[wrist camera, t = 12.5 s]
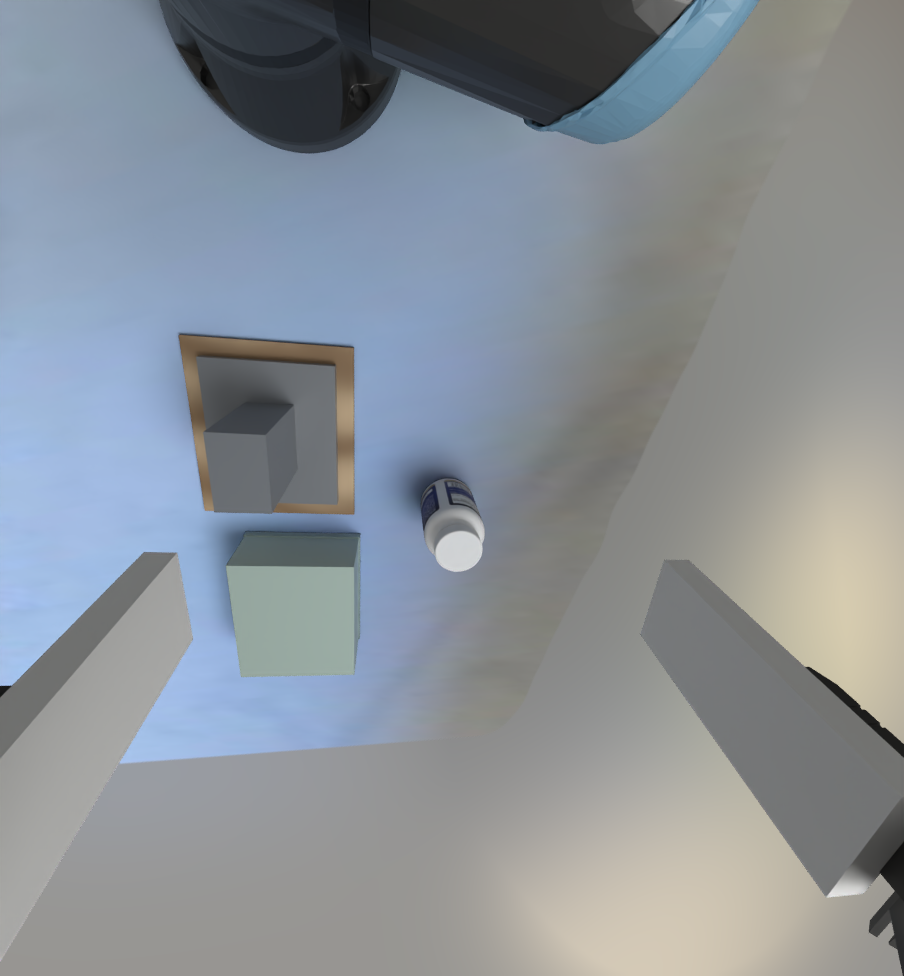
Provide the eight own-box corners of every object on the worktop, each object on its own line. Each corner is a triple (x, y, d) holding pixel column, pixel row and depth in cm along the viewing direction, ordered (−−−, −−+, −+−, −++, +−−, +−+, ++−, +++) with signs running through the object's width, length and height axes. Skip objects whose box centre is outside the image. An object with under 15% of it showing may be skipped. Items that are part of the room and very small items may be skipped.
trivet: (180, 334, 36) (178, 334, 36) (354, 347, 38) (353, 348, 38) (206, 508, 43) (204, 510, 42) (354, 512, 45) (354, 514, 44)
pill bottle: (431, 531, 47) (439, 588, 38) (412, 488, 44) (415, 537, 35) (479, 513, 46) (498, 566, 37) (463, 469, 44) (479, 513, 35)
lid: (201, 355, 37) (136, 375, 28) (336, 364, 38) (316, 386, 29) (219, 496, 42) (170, 553, 33) (338, 500, 43) (322, 555, 34)
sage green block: (246, 531, 44) (224, 564, 39) (360, 533, 46) (355, 566, 40) (257, 635, 49) (240, 677, 44) (359, 634, 51) (355, 675, 45)
